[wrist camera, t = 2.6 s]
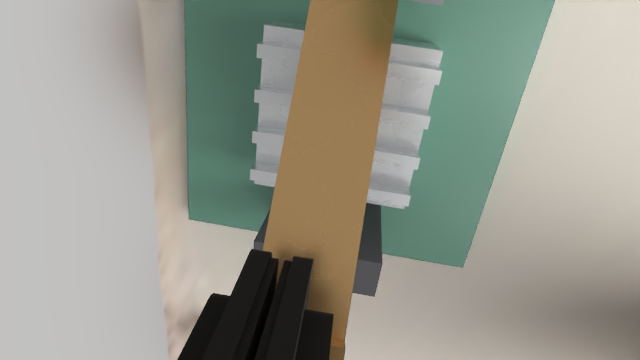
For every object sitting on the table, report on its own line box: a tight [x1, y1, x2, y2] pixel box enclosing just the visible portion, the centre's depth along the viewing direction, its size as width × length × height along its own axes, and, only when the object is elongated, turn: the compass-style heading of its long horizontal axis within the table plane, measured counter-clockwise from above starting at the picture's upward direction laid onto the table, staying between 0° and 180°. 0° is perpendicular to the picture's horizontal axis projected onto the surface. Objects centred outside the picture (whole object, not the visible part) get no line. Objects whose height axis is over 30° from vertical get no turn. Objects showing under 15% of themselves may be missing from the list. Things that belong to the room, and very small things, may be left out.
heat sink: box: [250, 0, 444, 209], centre depth 18 cm, size 8×12×6 cm, turn 172°
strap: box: [263, 0, 398, 360], centre depth 13 cm, size 3×14×2 cm, turn 172°
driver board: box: [185, 0, 555, 297], centre depth 20 cm, size 18×18×7 cm
